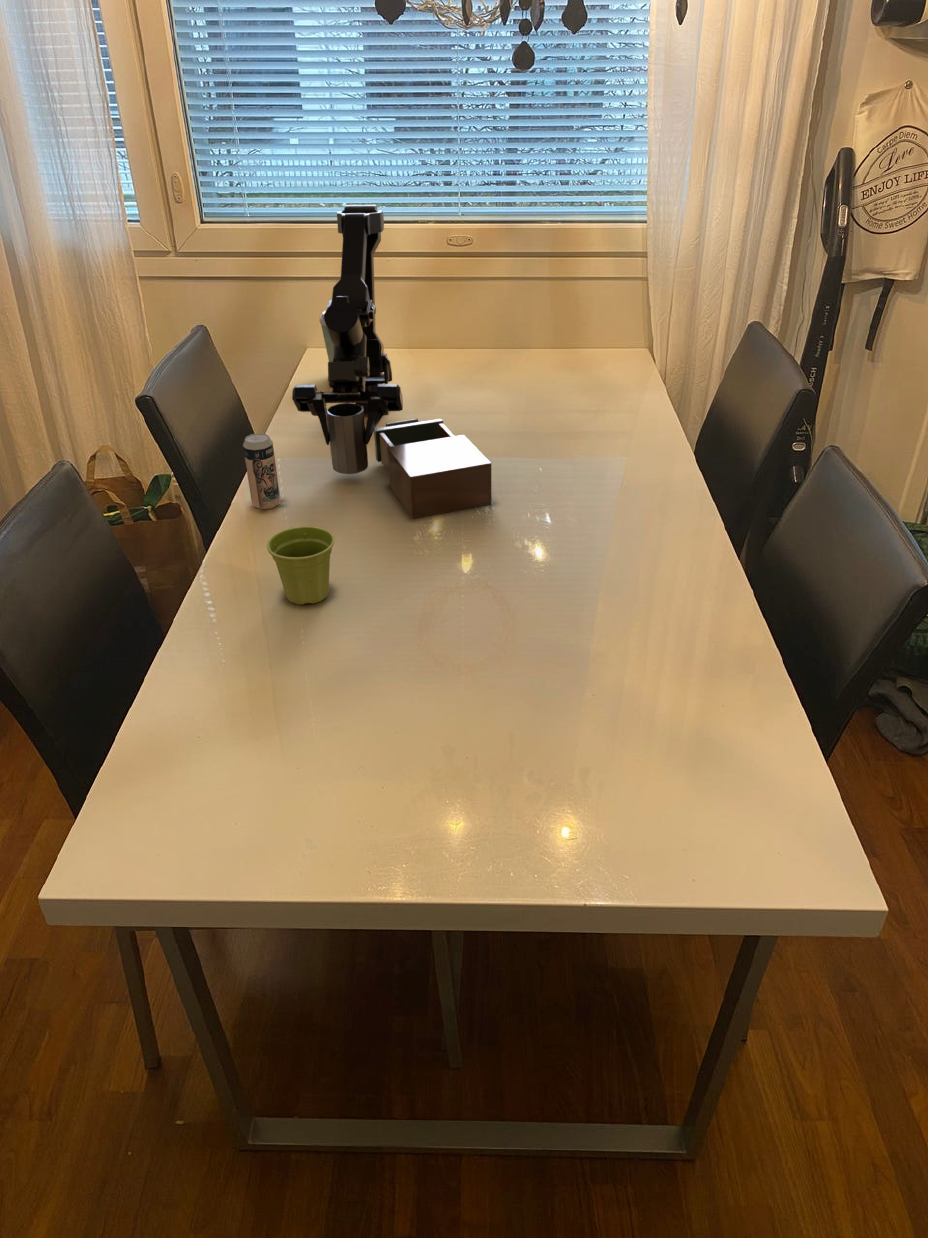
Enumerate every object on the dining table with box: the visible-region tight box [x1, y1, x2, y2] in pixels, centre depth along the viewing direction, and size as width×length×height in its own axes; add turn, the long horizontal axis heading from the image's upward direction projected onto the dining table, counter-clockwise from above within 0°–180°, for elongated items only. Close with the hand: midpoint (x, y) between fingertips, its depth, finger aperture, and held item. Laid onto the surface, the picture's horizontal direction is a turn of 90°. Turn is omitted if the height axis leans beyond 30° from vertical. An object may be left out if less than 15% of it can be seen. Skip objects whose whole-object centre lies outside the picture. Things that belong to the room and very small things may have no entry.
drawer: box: [373, 418, 455, 474], centre depth 173 cm, size 16×13×6 cm
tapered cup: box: [327, 403, 369, 475], centre depth 167 cm, size 6×6×11 cm
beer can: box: [242, 432, 281, 510], centre depth 159 cm, size 5×5×12 cm
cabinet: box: [387, 434, 492, 519], centre depth 162 cm, size 13×14×8 cm
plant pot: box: [266, 525, 335, 605], centre depth 136 cm, size 9×9×9 cm
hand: (346, 443), depth 167 cm, fingers closed on tapered cup, 6 cm apart
